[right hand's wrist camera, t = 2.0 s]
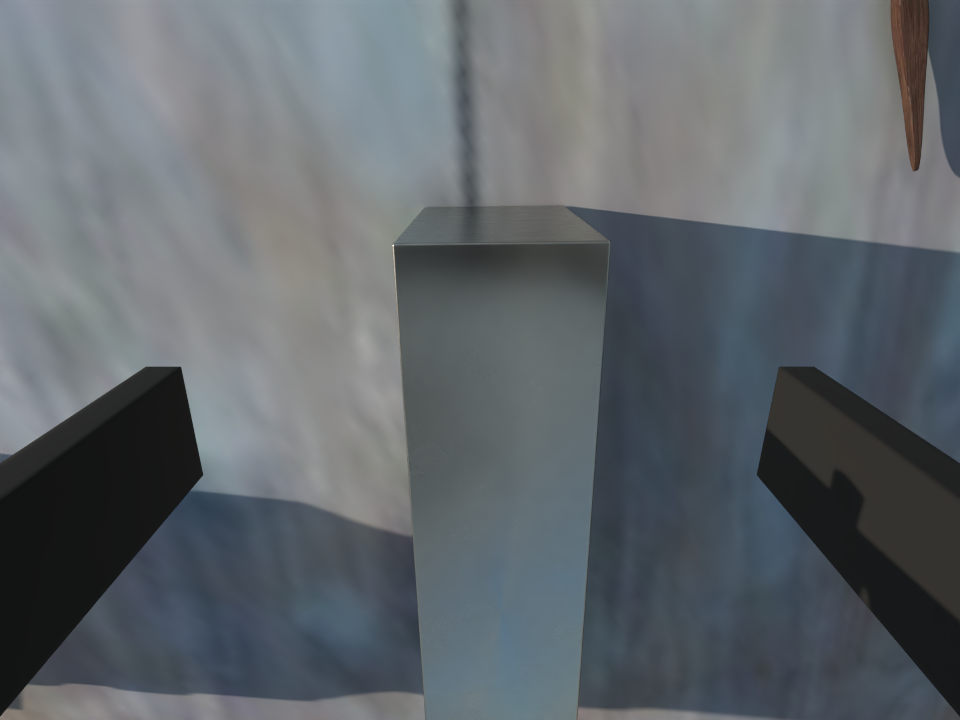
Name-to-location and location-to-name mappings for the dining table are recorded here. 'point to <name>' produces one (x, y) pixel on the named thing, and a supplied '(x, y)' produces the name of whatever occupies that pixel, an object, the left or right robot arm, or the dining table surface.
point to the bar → (501, 450)
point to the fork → (911, 66)
